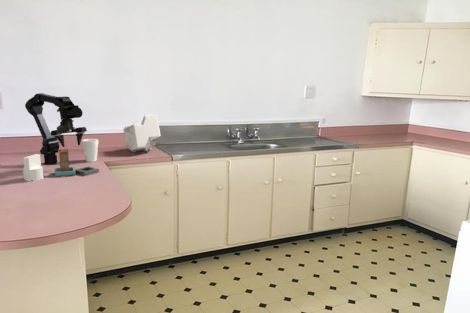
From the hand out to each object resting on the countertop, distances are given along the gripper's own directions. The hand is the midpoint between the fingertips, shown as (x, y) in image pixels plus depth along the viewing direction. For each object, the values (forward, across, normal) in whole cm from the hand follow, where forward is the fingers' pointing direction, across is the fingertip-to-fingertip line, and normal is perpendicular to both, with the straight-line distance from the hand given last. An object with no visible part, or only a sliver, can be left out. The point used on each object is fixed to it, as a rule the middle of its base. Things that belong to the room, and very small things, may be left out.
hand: (71, 146), depth 220 cm
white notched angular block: (+13, +23, +51) cm, 57 cm away
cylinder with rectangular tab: (+13, -10, -24) cm, 29 cm away
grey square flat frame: (+15, +11, -9) cm, 20 cm away
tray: (+14, +1, -13) cm, 19 cm away
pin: (+13, +1, -14) cm, 19 cm away
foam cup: (+12, +1, +19) cm, 22 cm away
